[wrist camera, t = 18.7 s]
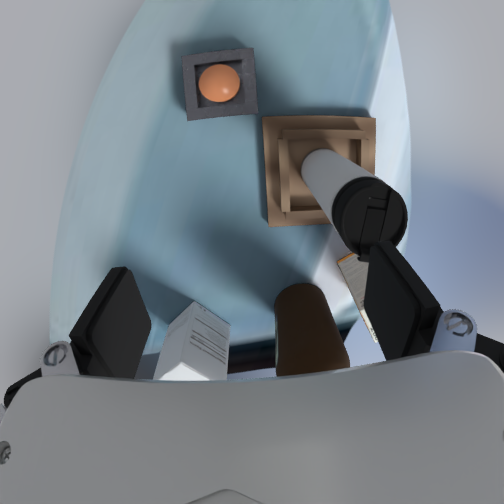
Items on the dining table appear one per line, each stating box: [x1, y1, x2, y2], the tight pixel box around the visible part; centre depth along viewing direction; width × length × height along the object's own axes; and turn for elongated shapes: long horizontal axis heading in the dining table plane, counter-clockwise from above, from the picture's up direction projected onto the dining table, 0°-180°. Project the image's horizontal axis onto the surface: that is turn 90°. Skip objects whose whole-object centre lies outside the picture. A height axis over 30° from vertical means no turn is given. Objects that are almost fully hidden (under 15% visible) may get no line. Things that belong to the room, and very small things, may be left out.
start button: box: [199, 64, 240, 102], centre depth 32 cm, size 5×5×3 cm
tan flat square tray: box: [262, 115, 376, 227], centre depth 38 cm, size 16×16×4 cm
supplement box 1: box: [153, 301, 230, 381], centre depth 47 cm, size 9×9×15 cm
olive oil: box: [274, 284, 350, 377], centre depth 40 cm, size 11×11×25 cm
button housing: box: [182, 48, 258, 121], centre depth 33 cm, size 9×9×4 cm
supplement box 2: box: [337, 253, 378, 343], centre depth 42 cm, size 8×5×13 cm, turn 32°
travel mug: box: [300, 148, 408, 263], centre depth 30 cm, size 6×7×20 cm
